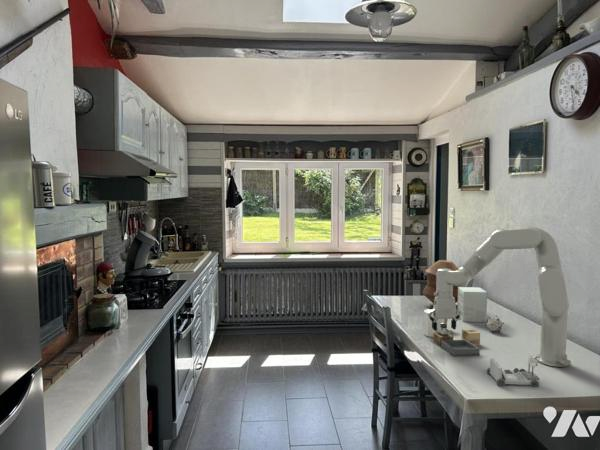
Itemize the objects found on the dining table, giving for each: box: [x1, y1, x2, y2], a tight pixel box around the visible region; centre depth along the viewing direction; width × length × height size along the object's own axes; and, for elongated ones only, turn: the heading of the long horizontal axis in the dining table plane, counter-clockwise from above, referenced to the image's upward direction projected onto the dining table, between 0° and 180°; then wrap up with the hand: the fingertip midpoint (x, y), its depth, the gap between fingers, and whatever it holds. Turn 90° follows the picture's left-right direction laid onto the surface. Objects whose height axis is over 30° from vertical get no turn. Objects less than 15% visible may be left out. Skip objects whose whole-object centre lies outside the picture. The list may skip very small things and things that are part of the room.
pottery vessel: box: [422, 259, 460, 305], centre depth 284 cm, size 26×26×30 cm
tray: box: [440, 339, 481, 357], centre depth 203 cm, size 12×12×3 cm
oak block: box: [461, 328, 481, 346], centre depth 214 cm, size 6×6×6 cm
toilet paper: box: [423, 308, 444, 338], centre depth 227 cm, size 10×10×12 cm
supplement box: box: [456, 286, 488, 323], centre depth 256 cm, size 13×13×18 cm
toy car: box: [486, 355, 540, 388], centre depth 171 cm, size 18×10×12 cm
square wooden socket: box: [432, 332, 454, 347], centre depth 213 cm, size 7×7×4 cm
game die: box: [484, 315, 504, 333], centre depth 233 cm, size 9×8×10 cm
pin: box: [440, 322, 448, 336], centre depth 213 cm, size 3×3×10 cm
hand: (444, 329), depth 213 cm, fingers open, 9 cm apart
